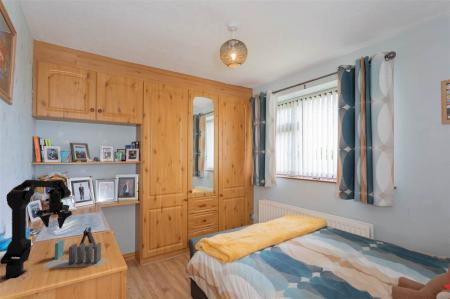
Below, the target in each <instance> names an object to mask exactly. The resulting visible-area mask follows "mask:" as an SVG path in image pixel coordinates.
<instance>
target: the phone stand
mask: <svg viewBox="0 0 450 299" xmlns="http://www.w3.org/2000/svg"><path fill="white" fill-rule="evenodd" d="M82 234H83V236H82V238H81V241H80V243H79V245H81V244H82V243H85V240H86V238H87V240H88V244H90V243H93V250H94V246H95V245H96V244H97V243H96V241H95V238H94V236H93V233H92V227H90V226H89V227H86V228H85V229H84V230H83V233H82ZM86 246H87V245H85V248H86Z"/></svg>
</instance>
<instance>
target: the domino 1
mask: <svg viewBox="0 0 450 299" xmlns="http://www.w3.org/2000/svg"><path fill="white" fill-rule="evenodd" d="M64 242H65V240H64V239H59V240H58V241H57V242H55V243H54V260H60V259H61V258H62V257H63V256H64Z"/></svg>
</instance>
